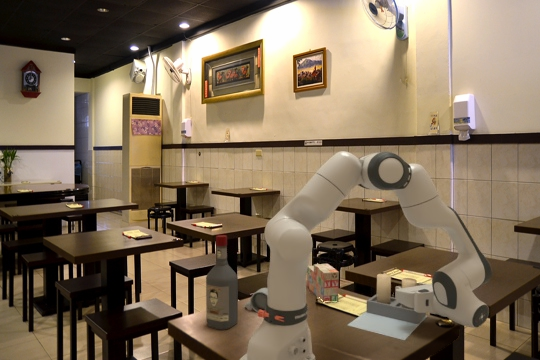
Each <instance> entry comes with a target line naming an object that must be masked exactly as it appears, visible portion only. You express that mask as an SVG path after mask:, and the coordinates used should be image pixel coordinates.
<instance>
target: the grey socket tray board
mask: <svg viewBox="0 0 540 360" xmlns="http://www.w3.org/2000/svg"><path fill="white" fill-rule="evenodd" d="M391 283H392V276H391V274H387V273H378V274H377V275H376V294H374V295H373V296H372V297H370V298H369V299H367V300H366V311H365V312H363V313H362V314H361V315H359V316H358V317H356V318H355V319H354V320H352V321H350V322H349V323H348V324H347V326H348V327H352V328H356V329H360V330H363V331H366V332H367V331H368V332H372V333H376V334H380V335H383V336H386V337H391V338H394V339H398V340H402V341H406V339H408V338H409V336H410V335H411V334H412V333H413V332H414V331H415V330H416V329H417V328H418V327H419V326H420V325H421V324H422V322H424V320H426V318H428V315H427V313H418V312H416V311H415V310H412V309H407V308H403V307H402V304H401V303H399V302H397V301H396V299H395V297H393V296H392V294H391V291H392V289H391V288H392V284H391Z"/></svg>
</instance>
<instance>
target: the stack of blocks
mask: <svg viewBox="0 0 540 360" xmlns="http://www.w3.org/2000/svg"><path fill="white" fill-rule="evenodd" d="M339 275H340V271H338V270H337V269H336V268H334V267H333V266H332V265H330V264H329V263H321V264H320V263H319V264H317V263H315V264H313V265H308V269H307V275H306V288H308V289H309V291H311V292H312V293H313V294H314V296H316V297H317V298H318V297H320V298H321V299H322V300H323V302H324V301H338V302H339V283H340V280H339V279H340V278H339V277H340V276H339ZM323 302H322V303H323Z"/></svg>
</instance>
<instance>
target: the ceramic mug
mask: <svg viewBox="0 0 540 360" xmlns="http://www.w3.org/2000/svg"><path fill="white" fill-rule="evenodd" d="M266 304H267V287H262V288H259V289H257V291H255V292H254V293H253V294H252V295H251V297H250V300H249V301H247V302H246V303H245V304H244V306H245V308H246V309H250V308H252V310H254V311H255V312H256V313H258V312H259V310H260V309H261V310H263V311H265V307H266Z"/></svg>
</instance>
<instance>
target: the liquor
mask: <svg viewBox="0 0 540 360" xmlns="http://www.w3.org/2000/svg"><path fill="white" fill-rule="evenodd" d="M215 246H216V262H215V264H214V266H213V267H212V268H211V269H210V270H209V272H208V273H207V275H206V276H205V285H206V286H205V288H206V289H205V290H206V292H205V297H206V299H205V301H206V302H205V304H206V306H205V307H206V309H205V310H206V311H205V312H206V321H205V322H206V325H207V326H208V328H212V329H216V330H220V331H222V330H229V329H231V328H232V327H233V326H234V327H235V325H237V324H238V320H239V318H238V317H239V316H238V312H239V309H238V308H239V307H238V306H239V304H238V302H239V301H238V300H239V299H238V298H239V297H238V296H239V295H238V294H239V293H238V291H239V290H238V289H239V287H238V285H239V284H238V283H239V282H238V281H239V280H238V275H237V273H236V272H235V270H233V268H232V267H231V266H230V264H229V262H228V253H227V252H228V251H227V250H228V249H227V248H228V247H227V246H228V235H226V234H225V235H224V234H219V235H218V234H217V235H215Z"/></svg>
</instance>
